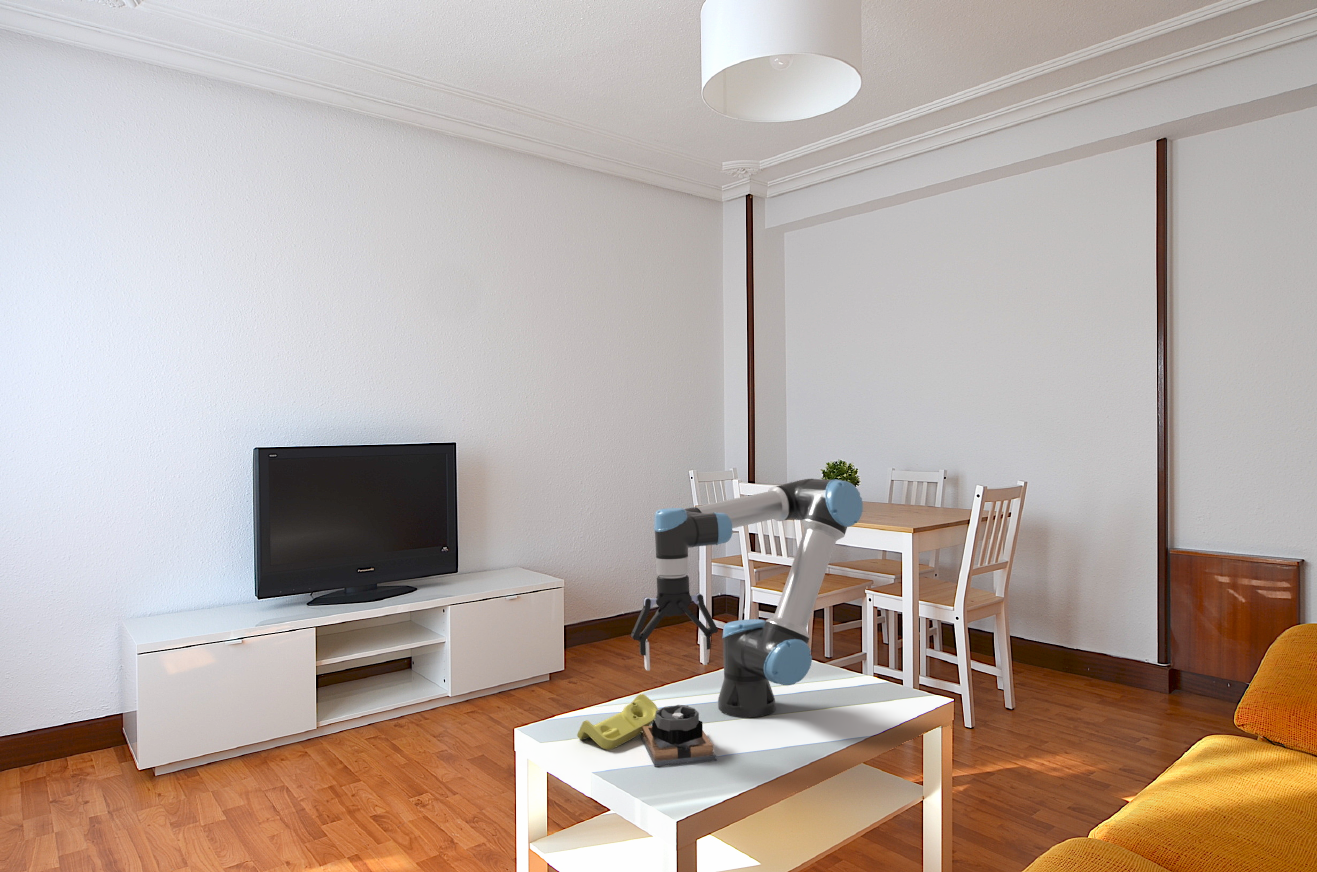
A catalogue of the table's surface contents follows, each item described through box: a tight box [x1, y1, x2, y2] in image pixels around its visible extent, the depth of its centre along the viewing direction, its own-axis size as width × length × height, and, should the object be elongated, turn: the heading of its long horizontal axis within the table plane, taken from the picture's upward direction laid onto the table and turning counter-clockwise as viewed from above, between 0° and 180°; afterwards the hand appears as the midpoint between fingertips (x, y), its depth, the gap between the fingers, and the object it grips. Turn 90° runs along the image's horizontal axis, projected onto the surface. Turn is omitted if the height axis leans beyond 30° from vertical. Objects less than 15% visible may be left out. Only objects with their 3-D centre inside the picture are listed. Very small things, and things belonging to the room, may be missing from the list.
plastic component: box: [576, 693, 659, 750], centre depth 195 cm, size 20×7×10 cm
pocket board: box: [639, 725, 717, 768], centre depth 186 cm, size 14×18×3 cm
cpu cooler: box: [651, 704, 704, 745], centre depth 185 cm, size 10×6×10 cm
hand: (676, 666), depth 186 cm, fingers open, 13 cm apart
